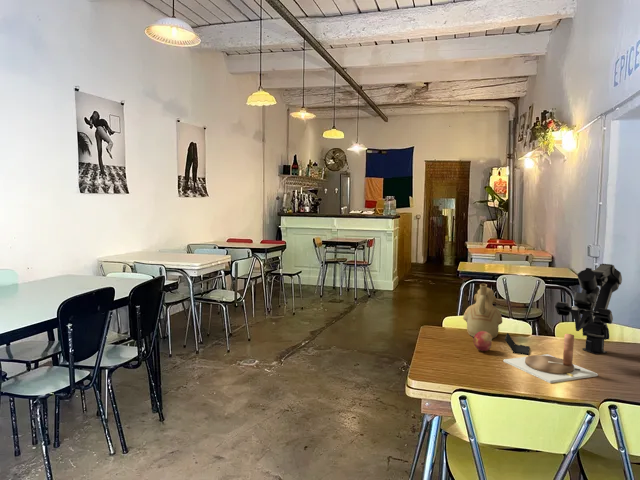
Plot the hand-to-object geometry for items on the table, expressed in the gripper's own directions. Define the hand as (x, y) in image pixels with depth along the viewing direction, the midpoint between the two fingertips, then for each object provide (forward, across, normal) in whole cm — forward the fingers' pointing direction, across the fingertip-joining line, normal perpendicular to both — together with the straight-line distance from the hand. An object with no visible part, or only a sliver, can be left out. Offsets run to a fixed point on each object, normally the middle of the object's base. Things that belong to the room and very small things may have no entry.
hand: (577, 330), depth 170 cm
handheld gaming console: (+8, -23, +12) cm, 27 cm away
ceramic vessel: (+2, -43, +18) cm, 46 cm away
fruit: (+17, -32, +3) cm, 36 cm away
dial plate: (+17, -6, +2) cm, 18 cm away
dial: (+16, -6, +1) cm, 17 cm away
